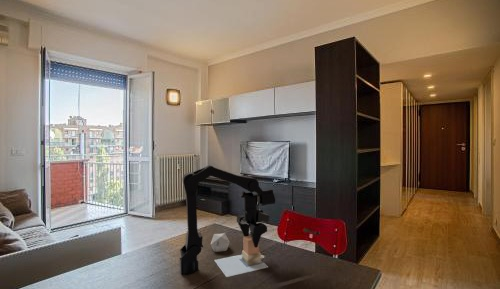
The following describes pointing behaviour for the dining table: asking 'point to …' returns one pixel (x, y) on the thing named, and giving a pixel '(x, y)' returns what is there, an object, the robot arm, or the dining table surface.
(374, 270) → the dining table surface
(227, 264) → the blueprint board
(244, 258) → the birch base block
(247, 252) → the terracotta block
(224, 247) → the die
